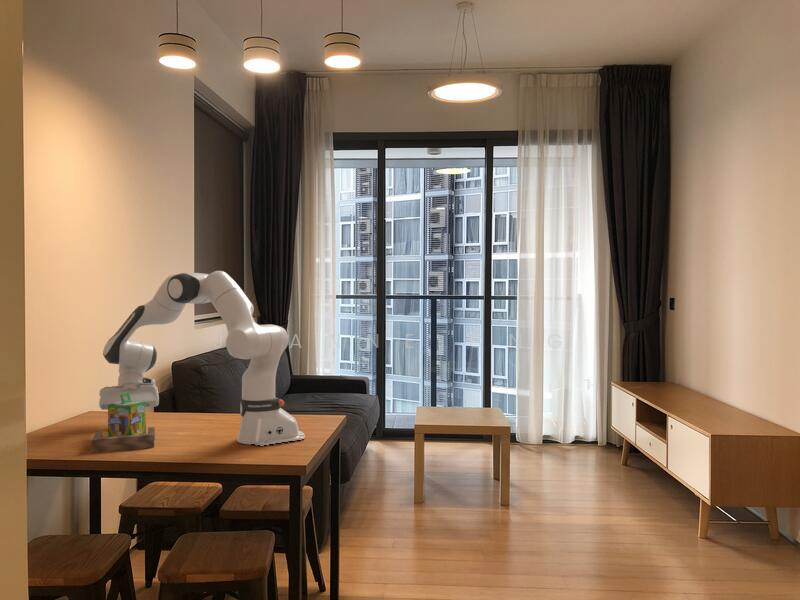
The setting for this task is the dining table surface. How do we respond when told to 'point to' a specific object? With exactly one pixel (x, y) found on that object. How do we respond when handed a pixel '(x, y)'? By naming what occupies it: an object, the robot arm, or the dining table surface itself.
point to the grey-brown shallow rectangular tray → (122, 441)
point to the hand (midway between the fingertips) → (129, 416)
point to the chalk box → (126, 417)
